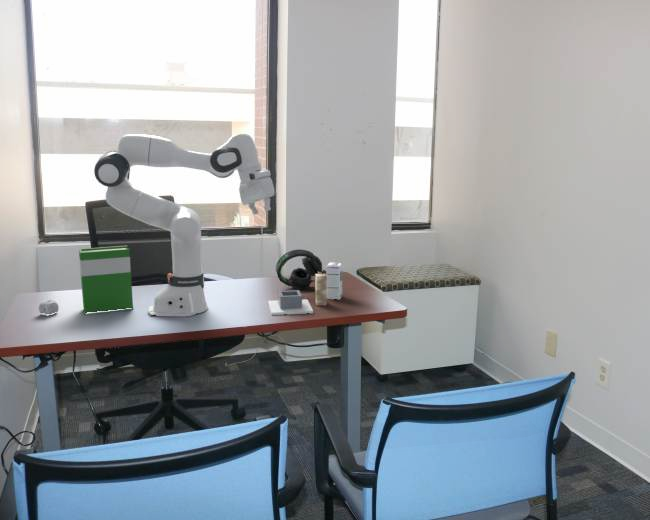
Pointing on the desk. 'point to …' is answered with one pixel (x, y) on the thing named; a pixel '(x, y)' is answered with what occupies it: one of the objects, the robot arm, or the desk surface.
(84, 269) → the hardback book
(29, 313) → the desk surface
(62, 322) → the desk surface
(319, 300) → the peg
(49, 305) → the die
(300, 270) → the headset
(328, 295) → the syrup box
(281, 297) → the socket
